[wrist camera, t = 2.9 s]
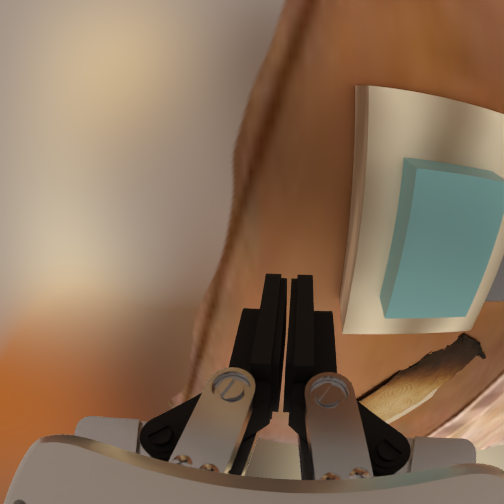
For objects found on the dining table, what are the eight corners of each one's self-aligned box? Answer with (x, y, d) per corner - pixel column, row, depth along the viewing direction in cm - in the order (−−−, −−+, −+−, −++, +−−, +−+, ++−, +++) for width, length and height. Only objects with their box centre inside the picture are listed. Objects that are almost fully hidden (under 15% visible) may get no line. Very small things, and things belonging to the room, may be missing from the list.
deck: (498, 113, 13) (532, 124, 10) (455, 298, 21) (470, 330, 18) (354, 85, 15) (368, 85, 12) (339, 297, 23) (342, 333, 20)
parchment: (358, 437, 38) (358, 442, 37) (308, 426, 36) (308, 431, 36) (490, 347, 25) (493, 353, 24) (451, 321, 23) (454, 328, 23)
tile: (492, 171, 12) (510, 183, 10) (456, 297, 17) (465, 316, 15) (403, 157, 13) (416, 168, 11) (379, 296, 18) (384, 318, 16)
